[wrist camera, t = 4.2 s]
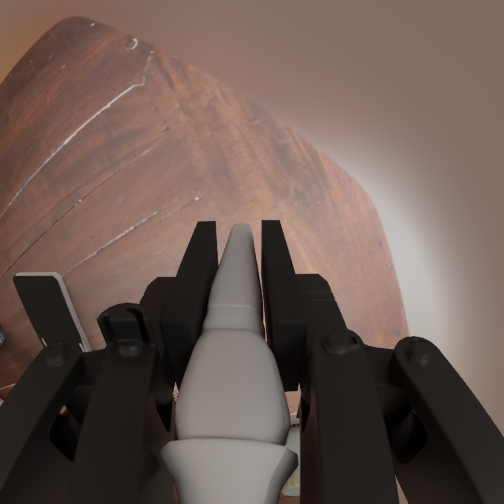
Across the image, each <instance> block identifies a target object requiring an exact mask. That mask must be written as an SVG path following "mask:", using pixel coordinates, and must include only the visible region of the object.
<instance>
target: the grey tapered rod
mask: <svg viewBox="0 0 504 504" xmlns="http://www.w3.org/2000/svg"><path fill="white" fill-rule="evenodd" d="M290 424H291V422H290V413H289V408H288V404H287V399H286V396H285V392H284V388H283V384H282V381H281V378H280V374H279V371H278V367H277V364H276V361H275V358H274V355H273V353H272V351H271V349H270V348H269V347H268V344H267V342H266V341H265V327H264V324H263V298H262V290H261V284H260V278H259V272H258V266H257V260H256V254H255V248H254V241H253V234H252V230H251V227H250V225H248V224H234V225H233V227H232V229H231V232H230V235H229V238H228V241H227V244H226V247H225V250H224V252H223V255H222V258H221V261H220V265H219V267H218V270H217V273H216V275H215V278H214V281H213V284H212V287H211V291H210V295H209V301H208V306H207V315H206V317H205V320H204V322H203V325H202V328H201V336H200V337H199V339H198V341H197V342H196V345H195V347H194V350H193V352H192V355H191V358H190V360H189V363H188V366H187V369H186V371H185V374H184V377H183V380H182V383H181V386H180V389H179V393H178V397H177V402H176V406H175V426H176V434H177V438H178V440H177V441H169V442H168V443H167V444H166V445H164V446H163V447H162V448H160V455H161V460H162V462H163V463H164V465H165V467H166V468H167V470H168V472H169V473H170V475H171V477H172V478H173V480H174V482H175V485H176V488H177V494H178V498H179V501H180V504H277V503H278V501H279V497H280V493H281V490H282V488H283V486H284V485H285V483H286V482H287V481H288V479H289V478H290V477H291V475H292V474H293V473H294V471H295V470H296V469H297V467H298V466H299V463H298V455H297V454H296V453H295V452H293V451H292V450H290V449H288V448H287V447H285V445H286V442H287V438H288V434H289V431H290Z"/></svg>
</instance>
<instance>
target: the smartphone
mask: <svg viewBox="0 0 504 504" xmlns="http://www.w3.org/2000/svg"><path fill="white" fill-rule="evenodd" d="M13 281H14V284H15V287H16V289H17V292H18V294H19V296H20V299H21V301H22V303H23V306H24V308H25V310H26V312H27V315H28V317H29V319H30V321H31V323H32V325H33V327H34V329H35V331H36V333H37V335H38V337H39V339H40V341H41V343H42V344H43V346H44V348H45V347H46V346H47V345H49V344H51V343H53V342H54V341H59V340H70V341H72V342H73V343H75V344H76V346H77V347H78V349H79V351H80V353H81V352H88V351H93V350H92V348H91V346H90V344H89V342H88V340H87V338H86V336H85V333H84V331H83V329H82V327H81V324H80V322H79V320H78V318H77V315H76V313H75V310H74V308H73V305H72V303H71V300H70V298H69V295H68V293H67V290H66V287H65V284H64V282H63V279H62V277H61V276H60V275H59V274H58V273H56V272H19V273H17V274H16V275H15V276H14V277H13Z"/></svg>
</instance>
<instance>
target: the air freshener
mask: <svg viewBox="0 0 504 504" xmlns="http://www.w3.org/2000/svg"><path fill="white" fill-rule="evenodd" d="M285 447H287V448H288V449H290V450H292V451H293V452H295V453H296V454H297V455H298V463H299V466H298V467H297V469H296V470H295V471H294V473H293V474H292V475H291V477H290V478H289V479H288V481H287V482H286V483H285V485H284V486H283V488H282V490H281V493H283V494H284V495H288V496H299V495H300V426H295V427H290V431H289V434H288V438H287V442H286V445H285Z"/></svg>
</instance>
